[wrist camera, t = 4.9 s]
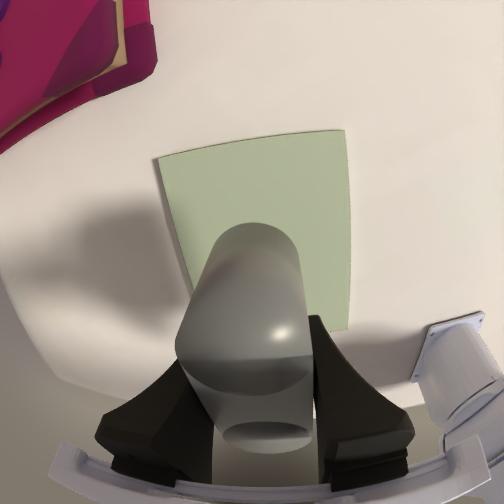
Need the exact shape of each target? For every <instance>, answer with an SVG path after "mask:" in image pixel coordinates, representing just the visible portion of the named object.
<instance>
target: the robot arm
mask: <svg viewBox="0 0 504 504" xmlns="http://www.w3.org/2000/svg"><path fill="white" fill-rule="evenodd" d="M484 317H485V313H484V312H479V313H476V314H473V315H469V316H466V317H462V318H459V319H455V320H452V321H448V322H444V323H440V324H436V325H433V326H431V327H430V328H429V330H428V333H427V336H426V339H425V342H424V345H423V348H422V351H421V353H420V356H419V359H418V361H417V364H416V366H415V369H414V372H413V374H412V376H411V379H410V381H411V383H415V382H418V384H419V386H420V389H421V392H422V395H423V397H424V400H425V403H426V406H427V409H428V412H429V415H430V417H431V419H432V421H433V422H434V423H435V424H436V425H437V426H439V427H441V428H443V430H444V433H443V434H442V435H441V437H440V439H439V443H438V449H437V454H438V456H436V457H433V458H430V459H428V460H425V461H422V462H419V463H416V464H413V465H410V466H408V465H407V460H406V457H407V456H408V453H407V449H406V447H407V446H408V444H409V443H410V442H411V441H412V439H413V438H414V436H415V430H414V427H413V424H412V422H411V420H410V418H409V416H408V414H407V412H406V411H404V410H403V409H401V408H399V407H398V406H396V405H395V404H393V403H392V402H391V401H389V400H388V399H387V398H385V397H384V396H383V395H381V394H380V393H379V392H378V391H377V390H375V389H374V388H373V387H372V386H371V385H370V384H369V383H367V382H366V381H365V380H364V379H363V378H362V377H361V376H360V375H359V374H358V373H357V371H356V370H355V369H354V368H353V367H352V366H351V365H350V363H349V362H348V361H347V360H346V359H345V357H344V356H343V355H342V353H341V352H340V351H339V349H338V348H337V346H336V345H335V343H334V342H333V340H332V339H331V337H330V335H329V334H328V332H327V330H326V328H325V327H324V325H323V323H322V320H321V318H320V316H319V315H309V316H308V320H309V328H310V335H311V343H312V351H313V398H314V403H315V410H316V423H317V439H318V440H317V441H318V463H319V464H318V467H319V484H318V485H308V486H296V487H235V486H234V487H233V486H220V485H212V447H213V433H214V423H213V421H212V419H211V418H210V416H209V414H208V413H207V411H206V409H205V408H204V406H203V404H202V403H201V401H200V399H199V397H198V396H197V394H196V392H195V390H194V388H193V387H192V385H191V383H190V381H189V379H188V378H187V376H186V374H185V372H184V370H183V368H182V366H181V364H180V362H179V360H178V358H177V360H176V361H175V362H174V363H173V364H172V365H171V366H170V367H169V369H168V370H167V371H166V372H165V373H164V374H163V375H162V376H161V377H160V378H158V379H157V380H156V381H155V382H154V383H153V384H152V385H150V386H149V387H148V388H147V389H145V390H144V391H143V392H141V393H140V394H139V395H137V396H136V397H134V398H133V399H131V400H130V401H128V402H127V403H125V404H123V405H122V406H120V407H118V408H116V409H114V410H113V411H110V412H108V413H106V414H104V415H103V417H102V419H101V422H100V424H99V426H98V429H97V431H96V434H95V439H96V441H97V442H98V443H99V444H100V445H101V446H102V447H104V448H105V449H106V450H108V451H109V452H110V453H112V454H113V455H114V459H113V461H112V463H109V462H107V461H104V460H101V459H98V458H95V457H92V456H90V455H88V454H87V453H86V452H85V451H83V450H82V449H80V448H78V447H77V446H74V445H72V444H70V443H67V442H65V441H62V442H61V444H60V446H59V449H58V451H57V453H56V455H55V458H54V460H53V463H52V465H51V467H50V470H49V472H48V477H50V478H52V479H53V480H55V481H57V482H58V483H60V484H62V485H64V486H65V487H67V488H69V489H71V490H73V491H74V492H76V493H78V494H81V495H82V496H84V497H87V498H89V499H91V500H93V501H95V502H98V503H100V504H213V503H204V502H198V501H191V500H186V499H184V498H183V497H181V496H187V497H193V498H200V499H207V500H215V501H225V502H238V503H298V502H311V501H316V502H315V503H314V504H445V503H448V502H450V501H452V500H454V499H456V498H458V497H460V496H462V495H464V496H474V497H481V498H483V499H484V502H485V504H504V455H503V456H502V457H500V458H499V459H497V460H496V461H495V462H493V463H491V464H490V465H488V464H487V463H488V462H490V461H491V460H493V459H494V458H496V457H497V456H499V455H500V454H501V453H503V452H504V374H503V372H502V371H501V369H500V367H499V365H498V364H497V362H496V360H495V358H494V357H493V355H492V353H491V352H490V350H489V348H488V347H487V345H486V344H485V342H484V340H483V339H482V337H481V336H480V334H479V333H478V331H479V329H480V326H481V324H482V322H483V319H484ZM174 494H177V495H174ZM178 495H181V496H178Z"/></svg>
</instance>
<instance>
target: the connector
mask: <svg viewBox="0 0 504 504" xmlns="http://www.w3.org/2000/svg"><path fill="white" fill-rule="evenodd" d="M175 351H176V355H177V358H178V360H179V362H180V364H181V366H182V368H183V370H184V372H185V374H186V376H187V378H188V379H189V381H190V383H191V385H192V387H193V388H194V390H195V392H196V394H197V396H198V397H199V399H200V401H201V403H202V404H203V406H204V408H205V409H206V411H207V413H208V414H209V416H210V418H211V419H212V421H213V423H214V424H215V425H216V427H217V429H218V431H219V432H220V434H221V435H222V437H223V438H224V440H225V441H226V442H227V443H228V444H230V445H232V446H234V447H236V448H238V449H241V450H245V451H249V452H256V453H282V452H288V451H293V450H296V449H299V448H301V447H303V446H305V445H307V444H308V443H309V442H310V441H311V439H312V427H313V351H312V343H311V335H310V328H309V320H308V313H307V306H306V299H305V293H304V286H303V280H302V273H301V267H300V261H299V255H298V251H297V249H296V247H295V245H294V243H293V242H292V240H291V239H290V238H289V237H288V236H287V235H286V234H285V233H284V232H282V231H281V230H279V229H278V228H276V227H273V226H271V225H268V224H264V223H256V222H251V223H243V224H239V225H236V226H234V227H231V228H229V229H228V230H226V231H225V232H224V233H223V234H221V235H220V237H219V238H218V239H217V240H216V242H215V243H214V245H213V248H212V250H211V252H210V255H209V257H208V259H207V262H206V264H205V267H204V269H203V271H202V274H201V276H200V279H199V281H198V283H197V286H196V288H195V291H194V293H193V296H192V298H191V300H190V303H189V305H188V308H187V310H186V313H185V315H184V318H183V321H182V323H181V326H180V328H179V331H178V333H177V336H176V339H175Z"/></svg>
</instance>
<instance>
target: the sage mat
mask: <svg viewBox="0 0 504 504" xmlns="http://www.w3.org/2000/svg"><path fill="white" fill-rule="evenodd" d="M158 162H159V167H160V171H161V175H162V179H163V183H164V187H165V191H166V195H167V199H168V203H169V207H170V211H171V214H172V218H173V222H174V225H175V229H176V232H177V236H178V239H179V243H180V246H181V250H182V253H183V256H184V260H185V263H186V266H187V270H188V273H189V276H190V279H191V282H192V285H193V288H194V291H195V288H196V286H197V283H198V281H199V279H200V276H201V274H202V271H203V269H204V267H205V264H206V262H207V259H208V257H209V255H210V252H211V250H212V248H213V245H214V243H215V242H216V240H217V239H218V238H219V237H220V235H221V234H223V233H224V232H225V231H226V230H228V229H229V228H231V227H234V226H236V225H239V224H243V223H251V222H256V223H264V224H268V225H271V226H273V227H276V228H278V229H279V230H281V231H282V232H284V233H285V234H286V235H287V236H288V237H289V238H290V239H291V240H292V242H293V243H294V245H295V247H296V249H297V251H298V255H299V261H300V267H301V273H302V280H303V286H304V293H305V299H306V306H307V313H308V316H309V315H319V316H320V318H321V320H322V323H323V325H324V327H325V328H326V330H327V332H333V331H341V330H348V317H349V300H350V275H351V213H350V189H349V172H348V159H347V148H346V137H345V130H332V131H318V132H306V133H296V134H287V135H278V136H270V137H263V138H256V139H249V140H243V141H237V142H231V143H225V144H220V145H214V146H209V147H204V148H199V149H195V150H190V151H186V152H181V153H177V154H173V155H168V156H164V157H161V158H158Z"/></svg>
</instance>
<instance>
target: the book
mask: <svg viewBox="0 0 504 504" xmlns="http://www.w3.org/2000/svg"><path fill="white" fill-rule="evenodd" d="M157 61H158V59H157V52H156V45H155V37H154V28H153V25H152V24H151V21H150V12H149V1H148V0H0V154H2V153H3V152H4V151H6V150H7V149H9V148H10V147H11V146H13V145H14V144H16V143H17V142H18V141H20V140H21V139H23V138H24V137H26V136H27V135H29V134H31V133H32V132H34V131H35V130H37V129H38V128H40V127H42V126H43V125H45V124H47V123H48V122H50V121H52V120H54V119H55V118H57V117H59V116H61V115H63V114H64V113H66V112H68V111H70V110H72V109H74V108H76V107H78V106H80V105H82V104H84V103H86V102H88V101H90V100H92V99H95V98H97V97H99V96H105V95H108V94H110V93H112V92H115V91H117V90H120V89H122V88H125V87H127V86H130V85H133V84H135V83H138V82H141V81H143V80H144V79H145V78H147V77H148V76H150V75H151V74H152V73H153V71H154V68H155V66H156V64H157Z"/></svg>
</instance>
